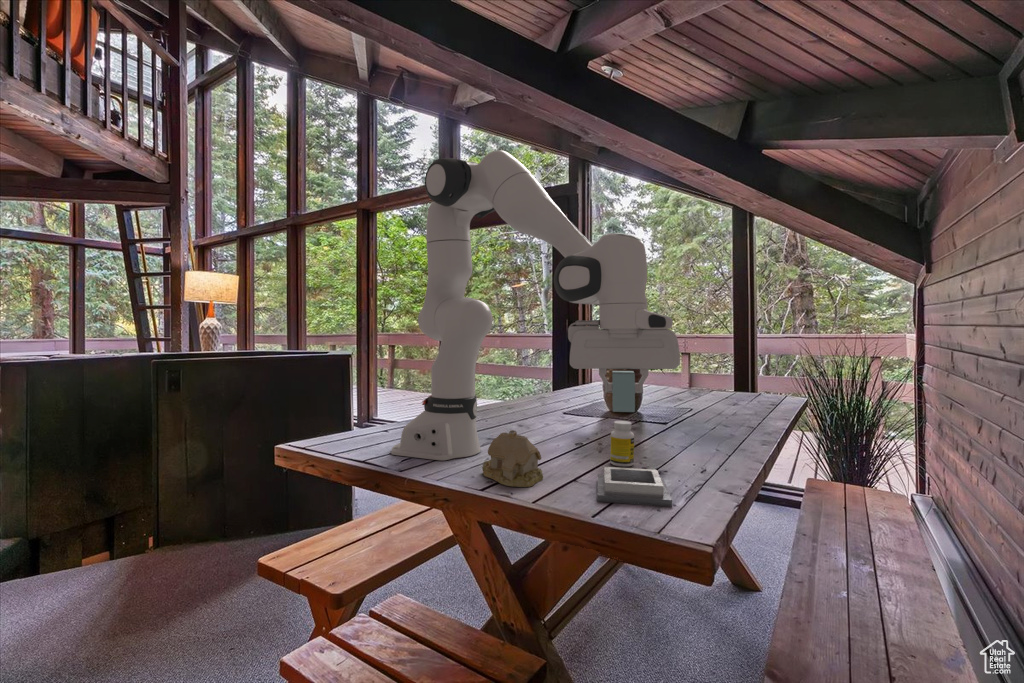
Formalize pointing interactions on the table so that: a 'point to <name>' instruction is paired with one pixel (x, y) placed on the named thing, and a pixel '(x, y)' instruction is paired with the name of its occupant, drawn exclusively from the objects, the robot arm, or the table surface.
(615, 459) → the supplement bottle
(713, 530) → the table surface
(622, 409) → the block
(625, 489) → the collar socket
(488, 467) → the ceramic model
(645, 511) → the table surface
